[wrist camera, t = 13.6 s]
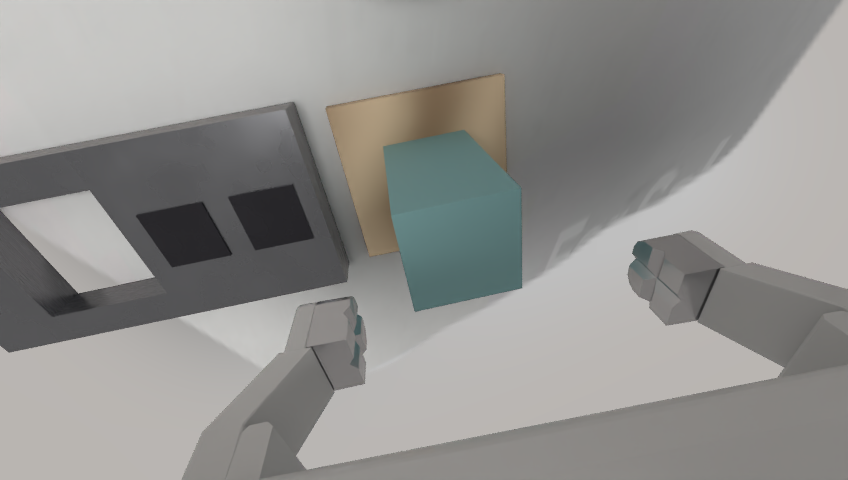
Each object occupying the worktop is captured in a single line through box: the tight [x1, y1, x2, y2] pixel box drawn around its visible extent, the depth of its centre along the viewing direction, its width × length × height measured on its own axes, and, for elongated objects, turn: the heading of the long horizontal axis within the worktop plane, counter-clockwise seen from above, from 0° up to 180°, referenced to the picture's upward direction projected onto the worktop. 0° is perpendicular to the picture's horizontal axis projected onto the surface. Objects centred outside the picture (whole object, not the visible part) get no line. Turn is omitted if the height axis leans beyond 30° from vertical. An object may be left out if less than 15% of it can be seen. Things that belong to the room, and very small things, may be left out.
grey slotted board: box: [0, 102, 349, 352], centre depth 18 cm, size 20×10×2 cm, turn 99°
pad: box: [326, 73, 507, 257], centre depth 19 cm, size 9×9×1 cm
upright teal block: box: [383, 130, 522, 312], centre depth 16 cm, size 4×4×8 cm
